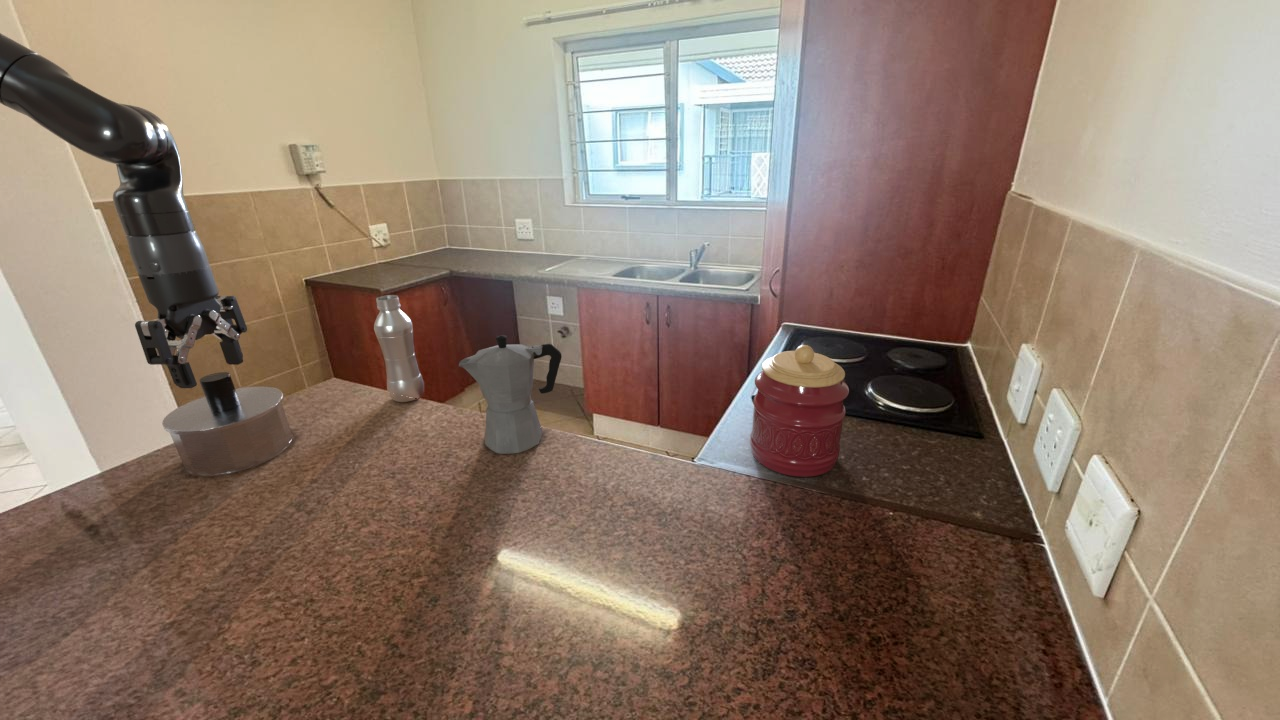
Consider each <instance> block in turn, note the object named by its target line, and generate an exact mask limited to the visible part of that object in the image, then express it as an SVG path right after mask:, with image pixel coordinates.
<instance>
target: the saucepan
mask: <svg viewBox="0 0 1280 720" xmlns="http://www.w3.org/2000/svg"><path fill="white" fill-rule="evenodd" d="M285 411H286V410H285V409H284V405H283V402H282V403H281V404H280V405H279V406H278V407H277V408H276V409H274V410H273V411H271V412H270V413H268V414H266V415H264V416H262V417H260V418H258V419H255V420H253V421H250V422H248V423H245V424H242V425H239V426H235V427H232V428H228V429H224V430H220V431H215V432H210V433H203V434H193V435H179V434H173V433H169V435H170V437H171V439H172V441H173V443H174V447H175V449H176V451H177V453H178V456H179V458H180V460H181V462H182V465H183V467H184V469H185V471H186V472H187V473H188V474H190V475H192V476H195V477H203V478H207V477H208V478H209V477H210V478H212V477H221V476H226V475H233V474H236V473H239V472H244V471H247V470H249V469H252V468H256V467H257V466H260V465H263V464H264V463H266V462H269V461H270V460H273V459H274V458H276V457H278V456H279V455H280V454H282V453H283V452H285V451H286V450H287V449H288V447H290V446H291V444H292V442H293V437H294V436H293V433H292V430H291V428H290V424H289V419H288V418H287V414H286V412H285Z"/></svg>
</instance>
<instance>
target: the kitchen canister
mask: <svg viewBox="0 0 1280 720" xmlns="http://www.w3.org/2000/svg"><path fill="white" fill-rule="evenodd" d="M761 370H762V371H760V372H759V373H757V375H756V376H755V377H754V385H755V388H756V389H757V392H756V394H755V395H754V397H753V400H752V402H753V403H752V404H753V413H752V414H753V415H752V426H751V427H752V428H751V432H750V439H749V443H750V449H751V453H752V456H753V457H754V458H755V460H756V461H757V462H758V463H759V464H761V465H762V466H764V467H765V468H767V469H768V470H771V471H772V472H773V471H774V472H776V473H779V474H782V475H786V476H791V477H801V478H804V477H805V478H807V477H808V478H809V477H816V476H821V475H824V474H826V473H828V472H830V471H831V470H832V469H834V467H835V466H836V464H837V462H838V461H837V460H838V459H839V457H840V452H841V438H842V430H843V425H844V424H843V423H844V419H845V416H846V413H847V412H846V406H845V405H844V400H845V399H847V397H848V396H849V394H850V388H849V385H848V384H847V383H846V381H845V380H844V379H845V377H846V372H845V370H844V368H843V367H842V366H841V365H840V364H838V363H836V362H835V361H834V360H833V359H832V358H831V357H828V356H826V355H824V354H821V353H818V352H815V351H814V349H813V348H812V347H811V346H810V345H807V344H801V345H799V346H798V347H797V348H796V349H795V350H786V351H781V352H778V353H777V354H775V355H773V356H770V357H769V358H766V359H765V360H764V361H763V362H762V364H761Z"/></svg>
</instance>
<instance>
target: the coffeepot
mask: <svg viewBox="0 0 1280 720" xmlns="http://www.w3.org/2000/svg"><path fill="white" fill-rule="evenodd" d="M495 340H496V343H497V345H494V346H490V347H487V348H483V349H479V350H478V351H476V353H475V354H473V355H471V356H468V357H465V358H464V359H460V361H459V362H458V367H460V368H463V369H464V370H465V371H466V372H467V373H468V374H469V375H470V376H471V377H472V378H473V379H474V380H475V381H476V383H478V385H479V388H480V391H481V394H482V397H483V398H484V399H485V400H486V402H487V406H486V410H485V411H486V413H485V434H484V435H485V436H484V445H485V446H486V447H487V448H488V449H489V450H491V451H493V452H494V453H496V454H499V455H500V454H503V455H506V454H507V455H508V454H509V455H511V454H520V453H523V452H526V451H528V450H530V449H532V448H534V447H536V446H538V445H539V444H540V442H541V440H542V437H543V433H544V432H543V429H542V425H541V422H540V419H539V416H538V412H537V409H536V405H535V402H534V401H533V400H532V397H531V393H532V391H533V387H534V385H533V384H534V369H535V368H534V367H535V366H534V365H535V360H536V359H540V358H544V357H546V356H549V357H550V359H549V361H548V362H549V363H548V372H547V374H546V378H545V379H546V380H545V381H546V385H545V386H543V387H540V388H538V391H539V393H540V394H541V395H542V394H548V393H551V392H552V391H553V390H554V387H555V383H556V379H557V375H558V372H559V368H560V364H561V361H562V352H561V351H560V349H558V348H557V347H556V346H555V345H553V344H552V343H544V344H535V345H530V346H527V345H525V344H522V343H521V344H519V343H517V344H507V341H508V336H507V335H505V334H504V335H503V334H502V335H501V334H500V335H497V336H496V337H495ZM540 427H541V428H540Z"/></svg>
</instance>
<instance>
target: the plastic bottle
mask: <svg viewBox="0 0 1280 720" xmlns="http://www.w3.org/2000/svg"><path fill="white" fill-rule="evenodd" d="M375 301H376V308H377V310H378V311H379V313H378V314H377V316H376V318H375V320H374V324H373V331H374V333H375V337H376V339H377V342H378V344H379V346H380V349H381V354H382V356H383V360H384V366H385V372H386V374H385V375H386V391H387V393H388V392H390V393H388V395H389V397H390V398H391V399H392V400H393V401H394V402H398V403H408V402H413V401H415V400H418V399H420V398H422V396H423V394H424V392H425V381H424V379H423V375H422V374H421V371H420V368H419V366H418V361H417V358H416V353H415V345H414V329H413V328H414V327H413V326H414V325H413V322H412V319H411V318H410V317H409V316H408V315H407V314H406V313H405V312H404V311H403V310H401V306H402V305H401V303H400V298H399V295H395V294H386V295H381V296H378V297H376V298H375ZM393 393H394V394H393ZM401 395H403V396H401ZM406 396H408V397H406ZM409 397H413V398H409ZM414 398H417V399H414Z"/></svg>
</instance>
